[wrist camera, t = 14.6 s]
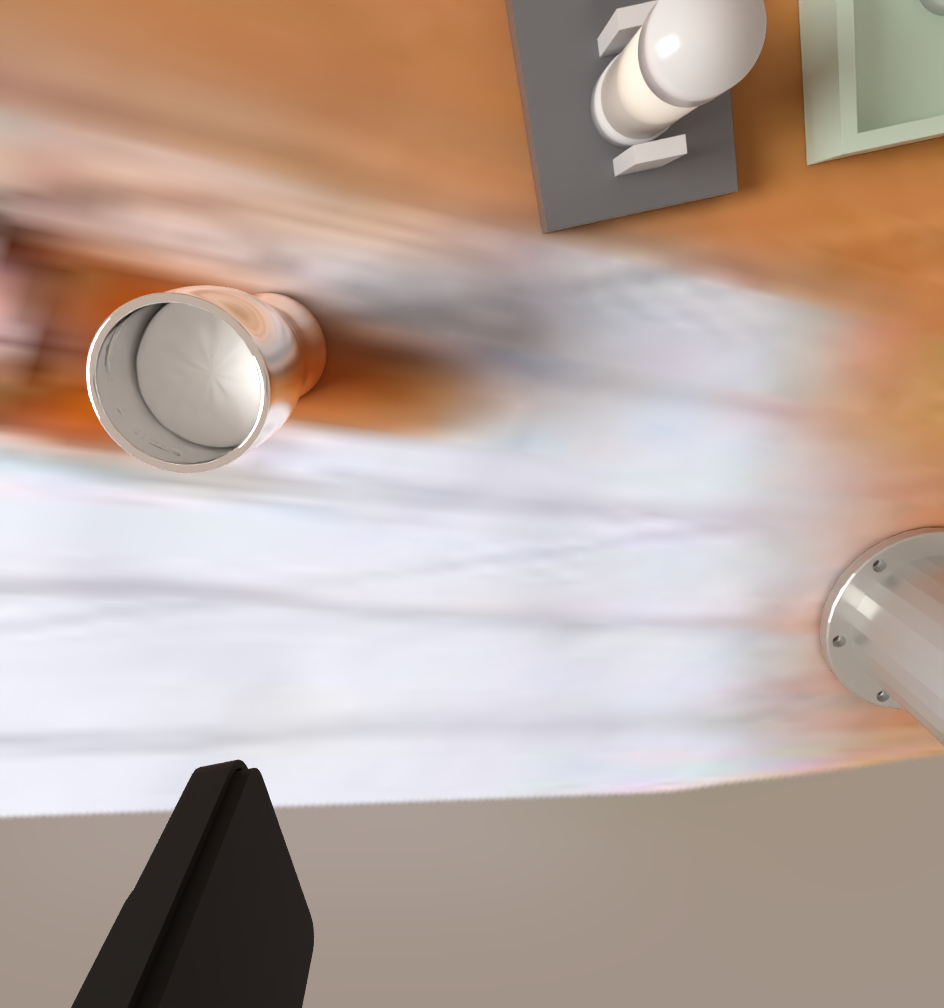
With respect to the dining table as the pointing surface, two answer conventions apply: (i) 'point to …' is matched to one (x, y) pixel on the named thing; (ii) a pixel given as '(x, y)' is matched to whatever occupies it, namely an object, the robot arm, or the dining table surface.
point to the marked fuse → (934, 6)
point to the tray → (870, 75)
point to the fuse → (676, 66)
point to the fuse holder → (571, 133)
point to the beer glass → (201, 373)
